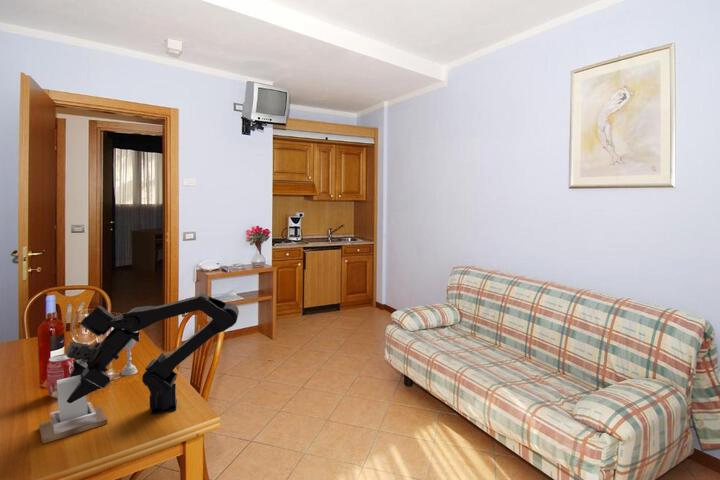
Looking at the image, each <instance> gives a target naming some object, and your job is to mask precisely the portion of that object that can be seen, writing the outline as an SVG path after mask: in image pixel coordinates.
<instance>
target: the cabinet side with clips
mask: <svg viewBox="0 0 720 480" xmlns="http://www.w3.org/2000/svg"><path fill="white" fill-rule="evenodd" d="M87 411H88V415H84V416H81V417H77V418H74V419H70V420H67V421H64V422H60V423H59V418H58V417H59V411H58V410H57V411H53V412H50V413H49V415H50V420H49V421H46V422H42V423H39V424H38V427H39V433H40V438H41V441H42V442H41V443H42V444H45V443H48V442H53V441H56V440H59V439H62V438H65V437H68V436H72V435H75V434H78V433H81V432H85V431H89V430H91V429H93V428H97V427H100V426H103V425H107V424H108V418H107V415H105V412H104V410H103V408H102V407H101V406H98V407H95V408H94V406H93V405H92V402H91V401H90V402H87Z"/></svg>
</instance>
